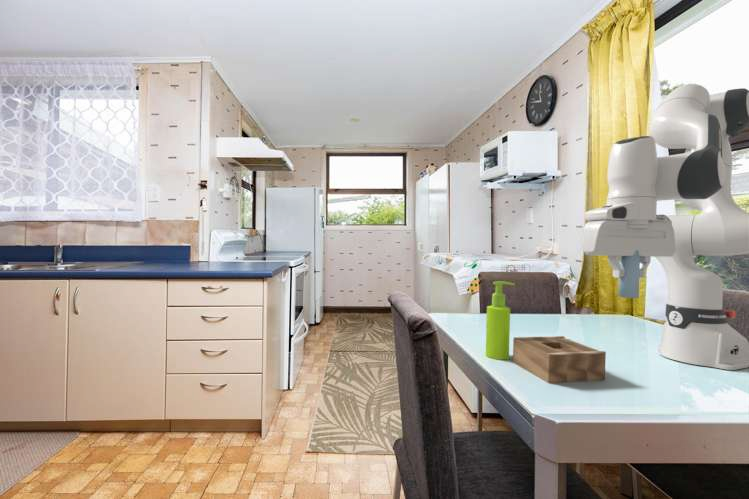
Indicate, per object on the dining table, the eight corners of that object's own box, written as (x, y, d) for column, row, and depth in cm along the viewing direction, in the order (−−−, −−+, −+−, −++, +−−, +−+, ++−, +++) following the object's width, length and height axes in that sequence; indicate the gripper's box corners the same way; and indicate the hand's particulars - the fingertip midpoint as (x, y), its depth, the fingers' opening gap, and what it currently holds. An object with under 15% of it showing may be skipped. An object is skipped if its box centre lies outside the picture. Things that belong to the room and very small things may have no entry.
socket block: (562, 360, 95) (562, 336, 95) (604, 380, 81) (605, 351, 81) (512, 362, 93) (513, 337, 93) (548, 382, 79) (549, 353, 79)
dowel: (628, 295, 80) (629, 250, 80) (642, 298, 77) (644, 250, 77) (614, 295, 80) (615, 250, 80) (628, 298, 76) (629, 250, 76)
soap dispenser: (514, 360, 94) (516, 283, 94) (486, 358, 95) (488, 282, 95) (511, 354, 100) (512, 281, 99) (484, 352, 101) (486, 280, 101)
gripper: (657, 215, 83) (655, 276, 83) (578, 212, 79) (576, 276, 80) (685, 213, 77) (683, 279, 77) (601, 210, 73) (599, 278, 73)
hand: (628, 277), depth 78 cm, fingers closed on dowel, 4 cm apart
